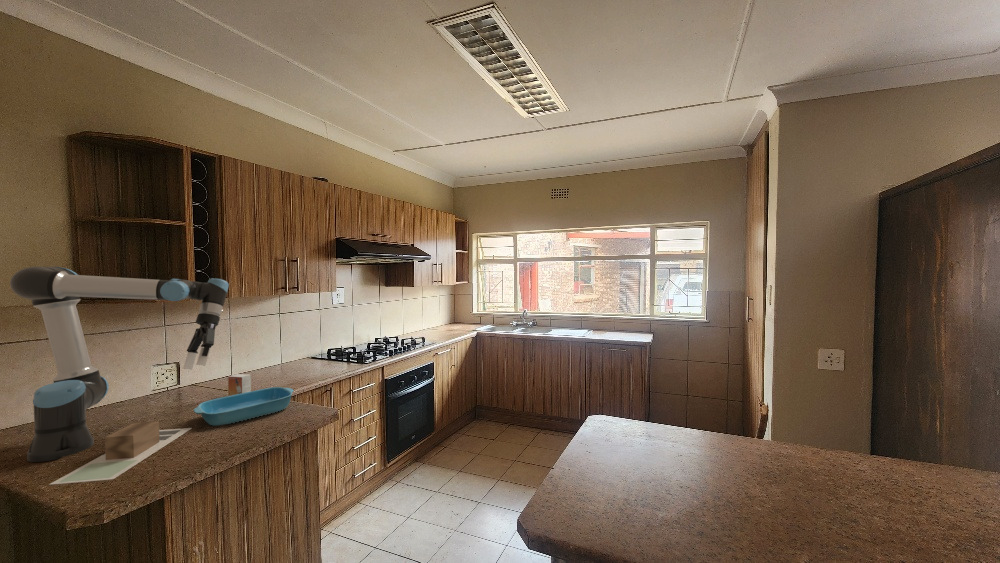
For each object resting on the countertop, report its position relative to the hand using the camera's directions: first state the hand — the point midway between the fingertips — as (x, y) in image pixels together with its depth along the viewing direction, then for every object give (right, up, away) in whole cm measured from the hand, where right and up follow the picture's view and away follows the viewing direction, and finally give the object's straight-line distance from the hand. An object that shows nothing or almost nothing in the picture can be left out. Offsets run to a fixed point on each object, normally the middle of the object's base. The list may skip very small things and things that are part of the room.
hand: (194, 367), depth 150 cm
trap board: (-6, -25, -19) cm, 32 cm away
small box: (-11, -24, +42) cm, 49 cm away
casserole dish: (+9, -25, +18) cm, 32 cm away
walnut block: (-6, -25, -18) cm, 31 cm away
